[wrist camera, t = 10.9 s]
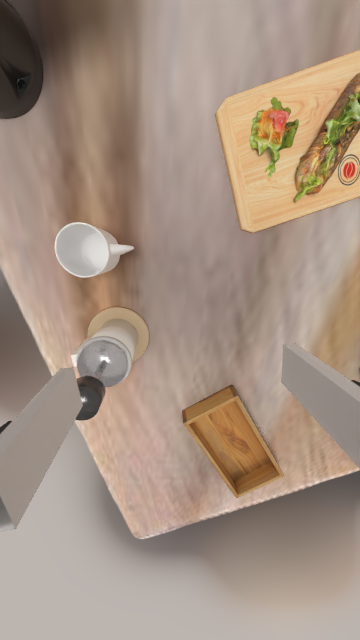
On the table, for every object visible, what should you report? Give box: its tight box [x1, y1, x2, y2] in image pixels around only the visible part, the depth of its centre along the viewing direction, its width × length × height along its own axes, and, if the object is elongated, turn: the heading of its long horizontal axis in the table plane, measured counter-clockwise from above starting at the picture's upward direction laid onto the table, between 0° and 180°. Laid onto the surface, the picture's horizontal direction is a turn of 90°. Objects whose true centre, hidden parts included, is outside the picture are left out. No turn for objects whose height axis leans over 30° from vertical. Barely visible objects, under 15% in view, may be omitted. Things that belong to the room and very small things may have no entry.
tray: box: [182, 385, 284, 498], centre depth 60 cm, size 31×15×6 cm, turn 30°
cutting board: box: [215, 50, 360, 233], centre depth 40 cm, size 35×23×8 cm
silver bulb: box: [75, 342, 128, 420], centre depth 33 cm, size 8×8×11 cm
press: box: [71, 307, 149, 383], centre depth 45 cm, size 14×14×13 cm
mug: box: [55, 222, 134, 278], centre depth 41 cm, size 9×12×11 cm
